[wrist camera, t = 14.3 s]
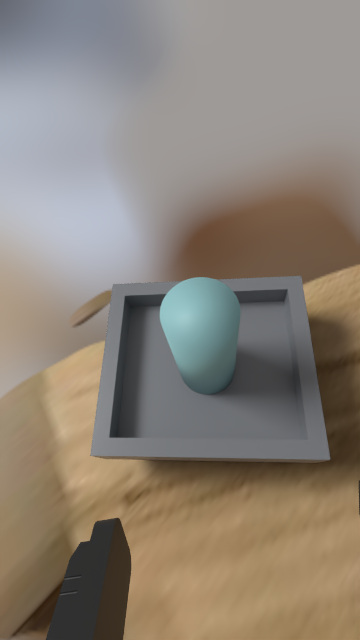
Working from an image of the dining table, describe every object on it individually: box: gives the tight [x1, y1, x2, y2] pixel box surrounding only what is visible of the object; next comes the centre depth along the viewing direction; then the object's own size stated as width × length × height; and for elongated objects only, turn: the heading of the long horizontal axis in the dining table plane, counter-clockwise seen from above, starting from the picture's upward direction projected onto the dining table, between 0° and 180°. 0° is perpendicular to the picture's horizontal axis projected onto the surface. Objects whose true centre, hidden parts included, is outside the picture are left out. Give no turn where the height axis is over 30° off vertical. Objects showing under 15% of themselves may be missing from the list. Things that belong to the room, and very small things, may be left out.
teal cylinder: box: [160, 277, 241, 395], centre depth 23 cm, size 4×4×10 cm
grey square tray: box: [90, 276, 330, 463], centre depth 28 cm, size 16×14×6 cm
